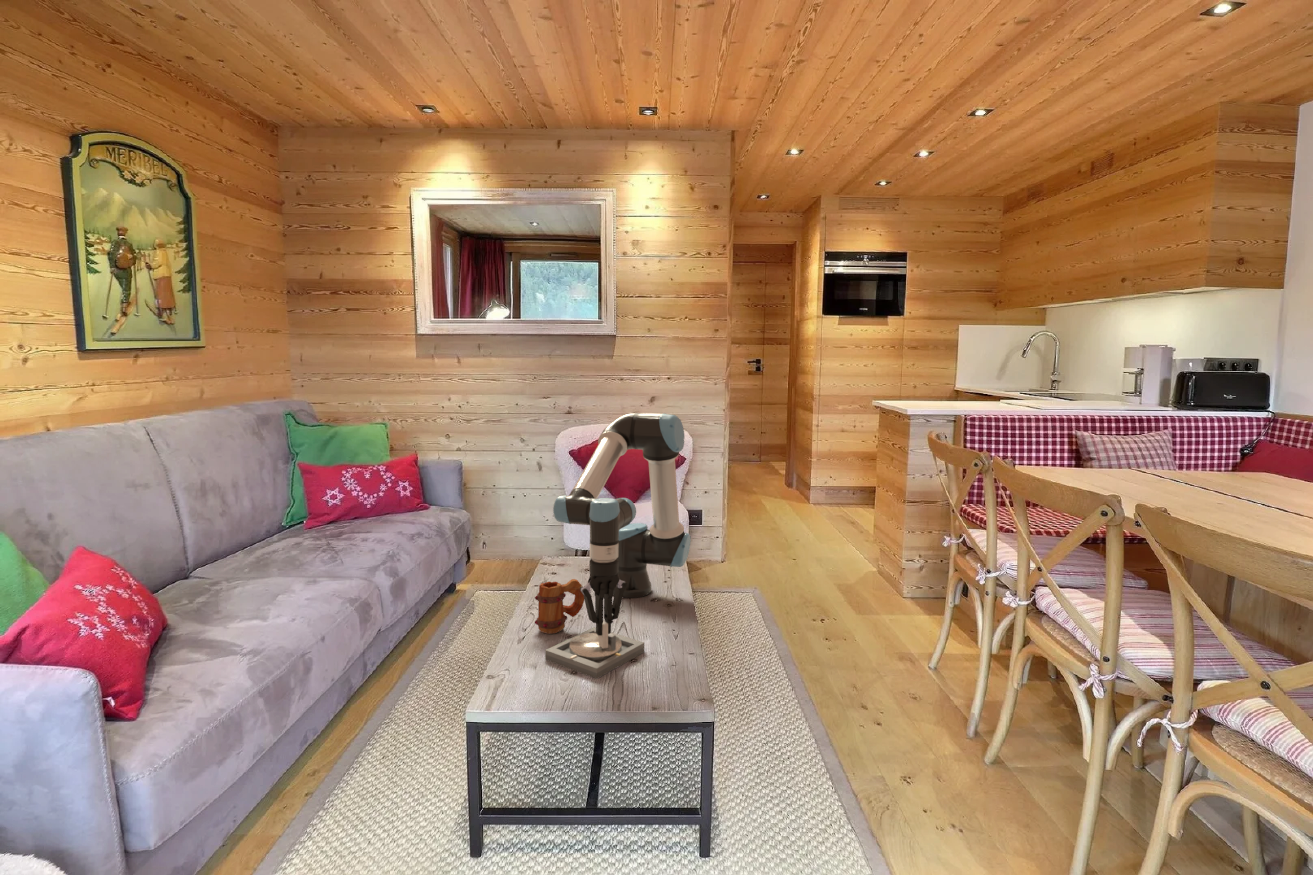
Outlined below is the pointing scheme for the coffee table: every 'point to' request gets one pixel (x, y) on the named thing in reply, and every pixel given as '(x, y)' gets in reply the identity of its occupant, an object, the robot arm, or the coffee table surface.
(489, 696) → the coffee table surface
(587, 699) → the coffee table surface
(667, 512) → the robot arm
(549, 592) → the mug
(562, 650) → the board
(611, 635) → the dial
